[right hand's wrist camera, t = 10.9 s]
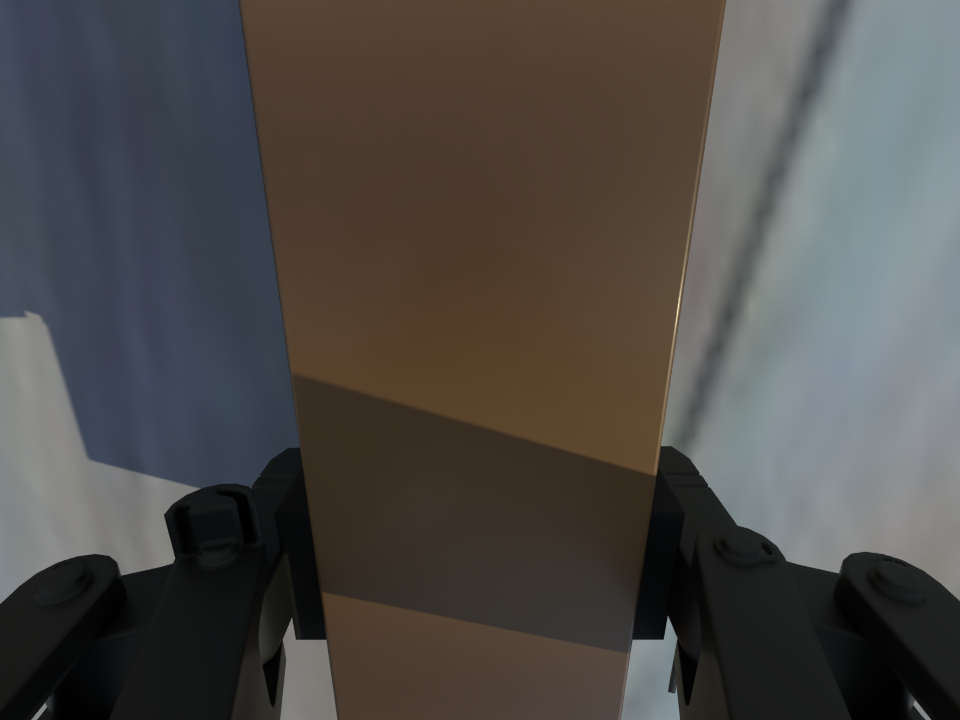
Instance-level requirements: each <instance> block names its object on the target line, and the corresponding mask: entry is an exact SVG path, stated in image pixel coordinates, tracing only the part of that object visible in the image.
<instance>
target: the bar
mask: <svg viewBox="0 0 960 720" xmlns="http://www.w3.org/2000/svg"><path fill="white" fill-rule="evenodd" d="M725 5H726V0H239V8H240V15H241V22H242V30H243V37H244V44H245V51H246V59H247V66H248V73H249V80H250V88H251V95H252V102H253V109H254V117H255V124H256V131H257V138H258V146H259V153H260V160H261V167H262V175H263V182H264V189H265V196H266V204H267V211H268V218H269V225H270V233H271V240H272V247H273V255H274V262H275V269H276V276H277V284H278V291H279V298H280V305H281V313H282V320H283V327H284V334H285V342H286V349H287V356H288V363H289V371H290V378H291V385H292V392H293V400H294V407H295V414H296V421H297V429H298V436H299V443H300V451H301V458H302V465H303V472H304V480H305V487H306V494H307V501H308V509H309V516H310V523H311V530H312V538H313V545H314V552H315V559H316V567H317V574H318V581H319V588H320V596H321V603H322V610H323V617H324V625H325V632H326V639H327V647H328V654H329V661H330V668H331V676H332V683H333V690H334V697H335V705H336V712H337V719H338V720H621V713H622V707H623V700H624V693H625V686H626V679H627V672H628V666H629V659H630V652H631V645H632V638H633V632H634V625H635V618H636V611H637V604H638V598H639V591H640V584H641V577H642V570H643V563H644V557H645V550H646V543H647V536H648V529H649V523H650V516H651V509H652V502H653V495H654V489H655V482H656V475H657V468H658V461H659V454H660V448H661V441H662V434H663V427H664V420H665V414H666V407H667V400H668V393H669V386H670V380H671V373H672V366H673V359H674V352H675V345H676V339H677V332H678V325H679V318H680V311H681V305H682V298H683V291H684V284H685V277H686V271H687V264H688V257H689V250H690V243H691V236H692V230H693V223H694V216H695V209H696V202H697V196H698V189H699V182H700V175H701V168H702V162H703V155H704V148H705V141H706V134H707V127H708V121H709V114H710V107H711V100H712V93H713V87H714V80H715V73H716V66H717V59H718V52H719V46H720V39H721V32H722V25H723V18H724V12H725Z"/></svg>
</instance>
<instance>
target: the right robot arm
mask: <svg viewBox="0 0 960 720" xmlns="http://www.w3.org/2000/svg"><path fill="white" fill-rule="evenodd" d="M164 517H165V521H166V524H167V528H168V532H169V536H170V539H171V543H172V547H173V551H174V555H175V560H174V563H173V564H170V565H166V566H163V567H159V568H154V569H150V570H145V571H141V572H136V573H131V574H127V575H122V576H121V573H120V570H119V567H118V564H117V562H116V561H115V560H113V559H112V558H111V557H110V556H105V555H98V554H92V555H85V556H77V557H74V558H70V559H68V560H64V561H61V562H59V563H56V564H54V565H52V566H50V567H48V568H46V569H44V570H42V571H40V572H38V573H37V574H35V575H34V576H33V577H31V578H30V579H29V580H27V581H26V582H25V583H23V584H22V585H21V586H19V587H18V588H17V589H16V590H15V591H14V592H13V593H12V594H11V595H10V596H9V597H7V598H6V599H5V600H4V601H3V602H2V603H1V604H0V720H31V719H32V718H33V717H34V716H35V714H36V713H37V712H38V711H39V709H40V708H41V707H42V706H43V704H44V703H46V705H47V708H46V709H45V711H44V712H43V713H42V714H41V716H40V717H39V718H38V719H37V720H280V714H281V705H282V695H283V685H284V676H285V666H286V656H285V650H284V644H283V637H284V635H285V633H286V630H287V628H288V625H289V623H290V621H291V618H292V619H293V625H294V631H295V637H296V640H327V639H326V632H325V625H324V617H323V610H322V603H321V596H320V588H319V581H318V574H317V567H316V559H315V552H314V545H313V538H312V530H311V523H310V516H309V509H308V501H307V494H306V487H305V480H304V472H303V465H302V458H301V451H300V448H288V449H286V450H285V451H283V452H282V453H280V454H279V455H277V456H276V457H275V458H273V459H272V460H270V462H269V463H268V465H267V466H266V467H265V469H264V470H263V472H262V473H261V476H260V477H258V479H257V480H256V481H255V483H254V484H253V486H252V489H251V488H249V487H248V486H244V485H239V484H219V485H214V486H210V487H206V488H202V489H200V490H197V491H195V492H193V493H190V494H188V495H186V496H184V497H183V498H181V499H180V500H178V501H177V502H175V503H174V504H172V506H171V507H170V508H169V509H168V511H167V512H166V513H165V514H164ZM668 616H669V619H670V621H671V624H672V626H673V628H674V631H675V633H676V635H677V638H678V639H677V644H676V649H675V655H674V660H673V666H672V671H671V677H670V682H669V689H668V692H671V693H675V690H676V685H677V694H678V703H679V713H680V720H925V719H924V718H923V717H922V716H921V714H920V713H919V712H918V711H917V709H916V708H915V707H914V705H913V704H914V702H915V700H916V701H917V702H918V704H919V705H920V706H921V707H922V709H923V710H924V711H925V712H926V714H927V715H928V716H929V717H930V719H931V720H960V601H959V600H958V599H957V598H956V597H955V596H954V595H952V594H951V593H950V592H949V591H948V590H947V589H946V588H945V587H944V586H943V585H942V584H940V583H939V582H938V581H936V580H935V579H934V578H932V577H931V576H930V575H928V574H927V573H926V572H924V571H923V570H921V569H919V568H917V567H915V566H913V565H911V564H909V563H907V562H905V561H903V560H900V559H897V558H893V557H891V556H887V555H884V554H878V553H870V552H860V553H853V554H850V555H849V556H848V557H847V558H845V559H844V560H843V563H842V566H841V569H840V572H839V573H834V572H829V571H825V570H820V569H816V568H811V567H807V566H802V565H798V564H795V563H791V562H788V561H786V559H785V557H784V556H783V554H782V553H781V551H780V550H779V549H778V547H777V546H776V545H775V544H773V543H772V542H771V541H769V540H768V539H767V538H766V537H764V536H763V535H761V534H758V533H756V532H754V531H752V530H750V529H748V528H744V527H740V526H737V524H736V523H735V522H734V520H733V519H732V517H731V516H730V515H729V513H728V512H727V510H726V509H725V508H724V506H723V505H722V503H721V502H720V501H719V499H718V498H717V496H716V495H715V494H714V492H713V491H712V489H711V488H710V487H708V484H707V482H706V481H705V480H704V478H703V477H702V476H701V475H700V474H699V471H698V470H697V469H696V467H695V466H694V464H693V463H692V462H691V460H690V459H689V458H688V457H686V456H685V455H683V454H682V453H681V452H679V451H678V450H676V449H675V448H673V447H672V446H661V448H660V454H659V461H658V468H657V475H656V482H655V489H654V495H653V502H652V509H651V516H650V523H649V529H648V536H647V543H646V550H645V557H644V563H643V570H642V577H641V584H640V591H639V598H638V604H637V611H636V618H635V625H634V632H633V638H632V640H664V635H665V629H666V623H667V617H668Z"/></svg>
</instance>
